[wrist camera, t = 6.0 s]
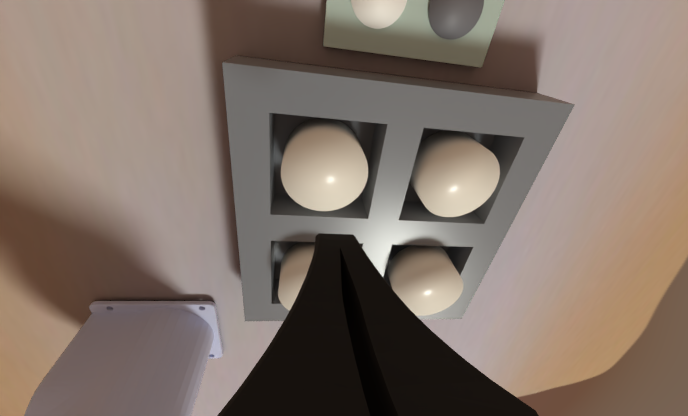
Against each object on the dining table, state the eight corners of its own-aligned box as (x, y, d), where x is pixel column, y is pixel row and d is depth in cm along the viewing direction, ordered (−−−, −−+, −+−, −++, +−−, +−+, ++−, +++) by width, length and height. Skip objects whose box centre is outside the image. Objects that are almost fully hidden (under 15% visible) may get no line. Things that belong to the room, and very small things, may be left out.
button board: (251, 290, 25) (244, 321, 22) (236, 55, 15) (222, 62, 13) (447, 291, 28) (461, 318, 25) (537, 93, 18) (574, 104, 16)
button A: (400, 194, 20) (411, 215, 18) (418, 126, 18) (433, 141, 16) (463, 198, 21) (481, 218, 19) (489, 133, 18) (513, 148, 16)
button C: (382, 288, 23) (389, 315, 21) (395, 242, 21) (404, 267, 19) (437, 288, 24) (450, 315, 22) (456, 244, 22) (473, 269, 19)
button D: (280, 287, 22) (277, 316, 20) (281, 238, 20) (278, 265, 17) (342, 288, 23) (346, 316, 21) (351, 240, 20) (356, 267, 18)
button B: (283, 187, 19) (280, 209, 17) (284, 113, 16) (281, 127, 14) (355, 192, 20) (361, 213, 18) (367, 121, 17) (375, 136, 15)
